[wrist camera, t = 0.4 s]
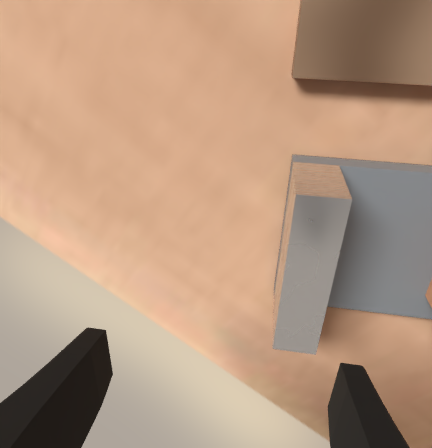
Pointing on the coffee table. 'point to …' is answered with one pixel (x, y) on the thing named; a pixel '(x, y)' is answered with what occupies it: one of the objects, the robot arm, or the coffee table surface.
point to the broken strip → (365, 41)
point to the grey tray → (351, 244)
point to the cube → (429, 294)
